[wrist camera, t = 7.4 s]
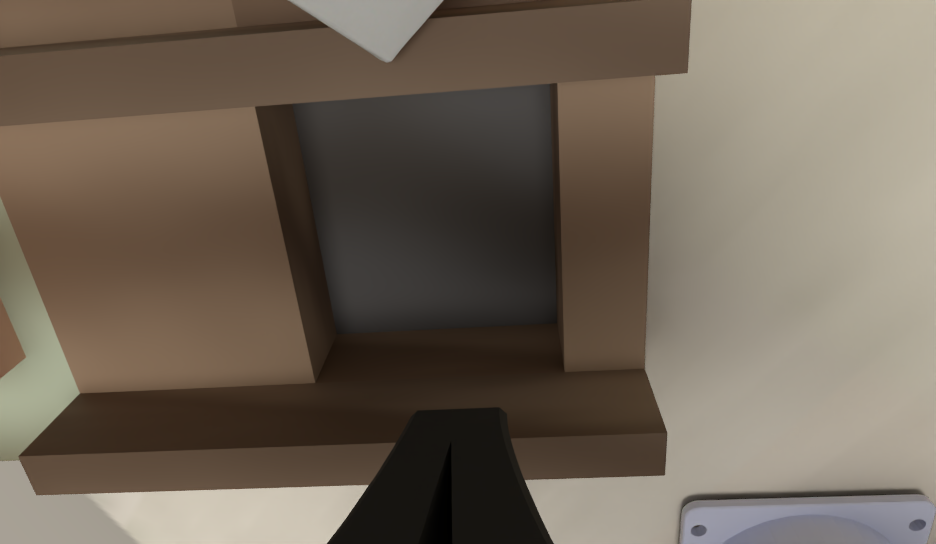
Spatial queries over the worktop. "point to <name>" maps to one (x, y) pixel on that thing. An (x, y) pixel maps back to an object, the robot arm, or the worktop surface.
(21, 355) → the block
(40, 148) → the trap channel
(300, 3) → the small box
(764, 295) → the worktop surface
